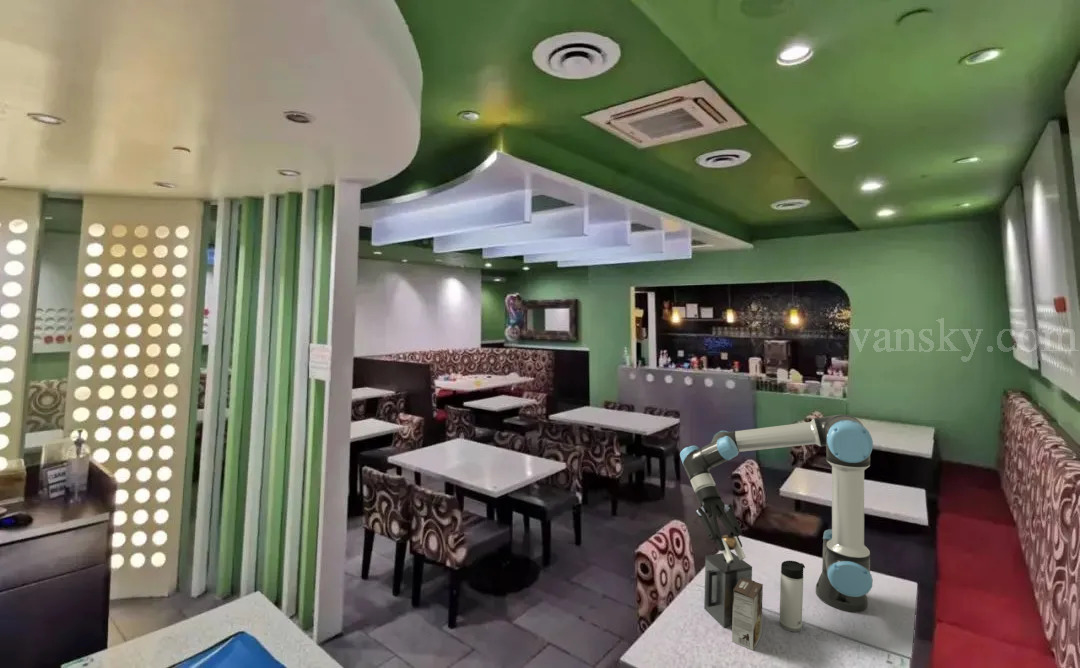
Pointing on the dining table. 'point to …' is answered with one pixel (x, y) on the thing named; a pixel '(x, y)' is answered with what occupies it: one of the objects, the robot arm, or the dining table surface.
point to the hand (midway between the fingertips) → (736, 559)
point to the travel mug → (791, 595)
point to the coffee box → (747, 613)
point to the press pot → (723, 585)
